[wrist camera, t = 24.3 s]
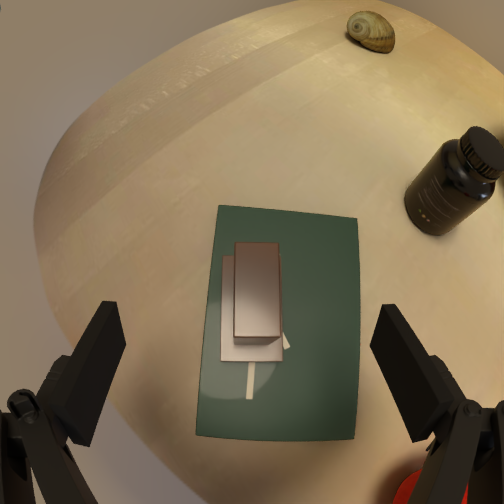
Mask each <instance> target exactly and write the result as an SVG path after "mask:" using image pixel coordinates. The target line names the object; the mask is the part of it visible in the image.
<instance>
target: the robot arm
mask: <svg viewBox="0 0 504 504" xmlns="http://www.w3.org/2000/svg"><path fill="white" fill-rule="evenodd" d="M0 9H1V7H0ZM125 346H126V341H125V337H124V333H123V329H122V325H121V321H120V316H119V312H118V307H117V302H113V301H102V302H101V304H100V306H99V307H98V309H97V311H96V313H95V314H94V316H93V318H92V319H91V321H90V323H89V325H88V326H87V328H86V330H85V332H84V333H83V335H82V337H81V339H80V340H79V342H78V344H77V346H76V348H75V349H74V351H73V353H72V355H71V356H66V355H62V356H61V357H60V358H58V359H57V360H56V361H55V362H54V364H53V365H52V367H51V369H50V372H49V373H48V374H47V376H46V379H45V380H44V382H43V384H42V385H41V387H40V389H39V391H38V393H37V395H36V396H35V395H34V393H33V392H32V391H30V390H27V389H21V390H17V391H16V392H14V393H13V394H12V395H11V396H10V397H9V399H8V401H7V407H8V408H9V410H10V412H11V413H2V412H1V410H0V504H36V502H35V496H34V490H33V482H32V475H31V468H32V470H33V473H34V476H35V478H36V481H37V483H38V486H39V488H40V490H41V493H42V495H43V498H44V500H45V502H46V504H98V502H97V501H96V499H95V497H94V496H93V494H92V492H91V490H90V488H89V487H88V485H87V483H86V481H85V479H84V477H83V476H82V474H81V472H80V470H79V468H78V466H77V464H76V462H75V460H74V458H73V456H72V454H71V451H70V450H69V447H68V445H67V444H66V441H67V438H68V436H69V438H70V439H71V441H72V442H73V443H74V444H78V445H83V446H87V447H90V444H91V441H92V438H93V435H94V432H95V429H96V425H97V423H98V420H99V417H100V414H101V411H102V408H103V405H104V402H105V400H106V397H107V394H108V391H109V388H110V386H111V383H112V380H113V378H114V375H115V372H116V370H117V367H118V364H119V362H120V359H121V357H122V354H123V351H124V349H125ZM370 348H371V350H372V352H373V354H374V356H375V358H376V360H377V363H378V365H379V367H380V369H381V371H382V373H383V376H384V378H385V380H386V382H387V384H388V387H389V389H390V391H391V393H392V396H393V398H394V400H395V402H396V405H397V407H398V409H399V412H400V414H401V416H402V419H403V421H404V423H405V426H406V428H407V431H408V433H409V435H410V438H411V440H412V443H414V442H418V441H422V440H426V439H428V437H429V436H430V434H431V433H432V432H434V434H435V439H434V440H433V441H432V442H431V444H430V445H429V446H428V448H427V449H426V451H428V450H429V449H430V450H429V453H428V455H427V458H426V461H425V463H424V466H423V468H422V470H421V473H420V475H419V478H418V480H417V482H416V484H415V487H414V489H413V491H412V493H411V495H410V497H409V500H408V502H407V504H461V503H462V500H463V497H464V494H465V491H466V488H467V485H468V494H467V504H504V400H503V401H501V402H499V403H498V405H497V406H496V407H495V408H482V407H481V406H480V405H479V404H478V403H477V402H475V401H474V400H469V399H466V397H465V396H464V394H463V392H462V391H461V389H460V387H459V386H458V384H457V382H456V381H455V379H454V378H453V377H452V374H451V373H450V371H448V368H447V366H446V365H445V363H444V362H443V361H442V360H441V359H440V358H438V357H437V356H436V355H433V356H429V355H428V353H427V352H426V350H425V348H424V347H423V345H422V344H421V342H420V341H419V339H418V338H417V336H416V335H415V333H414V331H413V330H412V328H411V327H410V325H409V324H408V322H407V321H406V319H405V318H404V316H403V315H402V313H401V312H400V310H399V309H398V308H397V306H396V305H395V304H382V307H381V310H380V314H379V317H378V320H377V324H376V327H375V330H374V334H373V337H372V340H371V343H370Z"/></svg>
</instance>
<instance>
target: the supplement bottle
mask: <svg viewBox="0 0 504 504" xmlns="http://www.w3.org/2000/svg"><path fill="white" fill-rule="evenodd" d="M503 172H504V149H503V147H502V145H501V144H500V143H499V141H498V140H497V139H496V138H495V137H494V136H493V135H492V134H491V133H490V132H488V131H487V130H485V129H484V128H481V127H478V126H476V127H475V126H473V127H470V128H469V129H468V130H467V132H466V133H465V134H464V135H463V136H462V137H461V138H460V139H452V140H449V141H446V142H445V143H444V144H443V145H442V146H441V147H440V148H439V149H438V151H437V152H436V153H435V155H434V156H433V157H432V158H431V160H430V161H429V162H428V163H427V165H426V166H425V167H424V168H423V170H422V171H421V172H420V173H419V175H418V176H417V177H416V178H415V179H414V181H413V182H412V183H411V185H410V186H409V187H408V189H407V192H406V198H405V200H406V207H407V210H408V213H409V215H410V217H411V218H412V220H413V221H414V223H415V224H416V225H417V226H418V227H419V228H421V229H422V230H423V231H425V232H427V233H430V234H433V235H442V234H445V233H447V232H449V231H450V230H451V229H453V228H454V227H455V226H457V225H458V224H459V223H461V222H462V221H463V220H464V219H466V218H467V217H468V216H470V215H471V214H472V213H473V212H475V211H476V210H477V209H478V208H479V207H481V206H482V205H483V204H484V203H486V202H487V201H488V200H489V199H490V198H491V196H492V195H493V192H494V189H495V181H496V180H497V179H498V178H499V177H500V175H501V174H502V173H503Z"/></svg>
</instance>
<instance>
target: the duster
mask: <svg viewBox="0 0 504 504" xmlns="http://www.w3.org/2000/svg"><path fill="white" fill-rule="evenodd" d="M220 361H221V362H283V317H282V273H281V256H280V252H279V243H270V242H235V243H234V256H233V255H223V256H222V284H221V330H220Z"/></svg>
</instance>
